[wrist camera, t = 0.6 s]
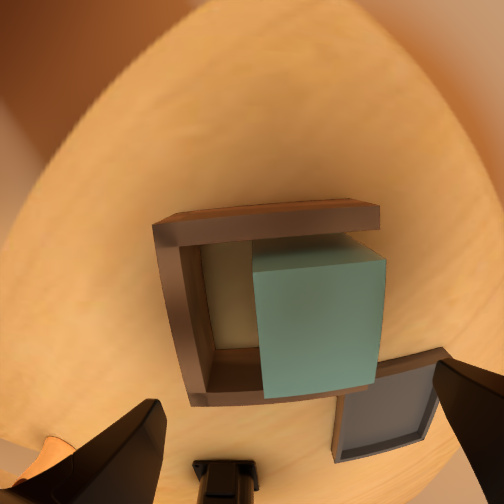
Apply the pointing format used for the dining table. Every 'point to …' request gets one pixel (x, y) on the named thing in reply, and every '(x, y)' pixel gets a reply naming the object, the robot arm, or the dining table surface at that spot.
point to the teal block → (317, 312)
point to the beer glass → (46, 458)
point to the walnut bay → (194, 296)
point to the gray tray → (388, 408)
